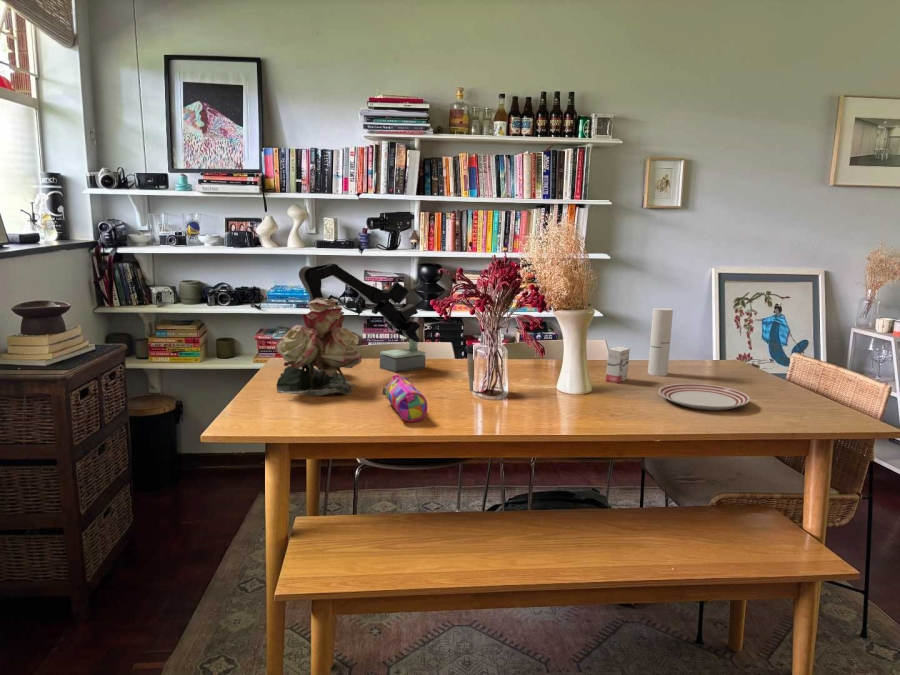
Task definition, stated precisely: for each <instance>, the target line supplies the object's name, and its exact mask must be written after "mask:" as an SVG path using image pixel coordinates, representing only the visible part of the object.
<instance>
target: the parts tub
mask: <svg viewBox="0 0 900 675" xmlns="http://www.w3.org/2000/svg"><path fill="white" fill-rule="evenodd" d="M379 368H380V369H383V370H386V371H387V372H388V371H389V372H391V373H394V374H396V373H397V374H398V373H404V372H410V371H416V370H423V369H425V368H426V354H423V355H417V356H410V357H403V358H393V357H389V356H386V355H382V354H379Z"/></svg>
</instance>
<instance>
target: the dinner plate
mask: <svg viewBox="0 0 900 675" xmlns="http://www.w3.org/2000/svg"><path fill="white" fill-rule="evenodd" d="M658 394H659V395H660V396H661V397H663V398H665V399H666V400H668V401H670V402H673V403H675V404H677V405H679V404H680V406H682V405H683V406H682V407H685V406H686V408H689V407H691V408H690V409H694V408H696V409H695V410H701V409H705V410H704V411H727V410H731V409H735V408H736V409H737V408H739V407H742V406H745V405H746V404H749V402H750V401H751V398H750V396H749V395H747V394H746V393H744V392H741V391H740V390H738V389H737V390H736V389H733V388H729V387H725V386H719V385H713V384H707V383H706V384H704V383H674V384H669V385H664V386H663V387H660V388H659V389H658ZM726 409H727V410H726Z"/></svg>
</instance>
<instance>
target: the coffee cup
mask: <svg viewBox="0 0 900 675" xmlns="http://www.w3.org/2000/svg"><path fill="white" fill-rule="evenodd" d="M474 344H475V343H472V344H469V345H468V346H467V348H466V349H465V353H467V356H466V357H467V360H466V362H467V363H466V364H467V375H468V384H469V391H470V392H473V381H474V360H473V345H474Z"/></svg>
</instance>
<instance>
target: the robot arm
mask: <svg viewBox="0 0 900 675" xmlns="http://www.w3.org/2000/svg"><path fill="white" fill-rule="evenodd" d="M330 277H334V278H335V279H337V280H338V281H341V283H343V284H344V285H346V286H348V287H350V288H351V289H353V290H355V291H356V292H357V293H358V295H359V296H360V297H361V298H362V299H363V300H364V301H366V302H368V303H370V304H372V305H371V313H372V314H374V315H377V314H380V315H381V316H382V317H383V318H384V320H385V321H386V328H387V329H388V330H389V331H391V332H393V331H394V330H395V331H394V332H395V334H397V335H400V336H402V337H404V338H406V339H408V340H409V339H411V340H414V341H416V342H418V343H419V342H420V338H419V335H418V336H417V334H416V331H417V330H418V329H420V327H421V324H420V323H419V322H417V321H415V320H410V318H411V317H412V316H414V315H417V314H418V310H417V307H416V305H415V304H413V303H410V304H409V303H408V304H407V303H405V302H403V301H404V300H405V299H406V297H408V295H409V294H410V291H409V290H408V288H407V287H405V286H403V285H402V284H401V283H400V282H399V281H394V282H393V283H392V285H391V286H390V287H389V289H387V290H382V289H381V288H377V286H376V287H375V286H373V285H371V284H368V283H365V282H364V281H362V280H360V279H359V278H357V277H356V276H354V275H352V274H351V273H349V272H348V271H346V270H345V269H343V268H342V267H340V266H339V265H338V264H337V263H332V262H329V263H327V264H323V265H316V266H308V265H306V266H303V267H301V268H300V270H299V272H298V278H299V280H300V282H301V284H302V286H303V287H304V288H305V290H306V292H307V293H308V296H309V299H310V302H311V301H313V300H315V298H324V296H323V293H322V280H323V279H326V278H330ZM402 302H403V303H402ZM373 304H374V305H373ZM396 304H397V305H400V308H399V309H398V308H397V307H396V306H395V305H396ZM409 320H410V321H409Z"/></svg>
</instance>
